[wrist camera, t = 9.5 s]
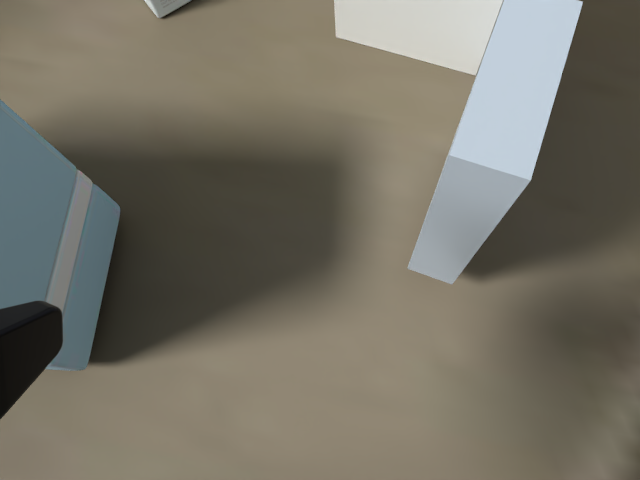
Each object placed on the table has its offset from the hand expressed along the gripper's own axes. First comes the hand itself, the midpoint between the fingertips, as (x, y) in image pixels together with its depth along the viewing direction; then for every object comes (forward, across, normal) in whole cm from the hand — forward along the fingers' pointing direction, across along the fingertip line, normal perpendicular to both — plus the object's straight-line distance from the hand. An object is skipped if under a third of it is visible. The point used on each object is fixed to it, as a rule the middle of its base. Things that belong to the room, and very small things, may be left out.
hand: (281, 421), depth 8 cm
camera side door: (+19, -2, -1) cm, 19 cm away
